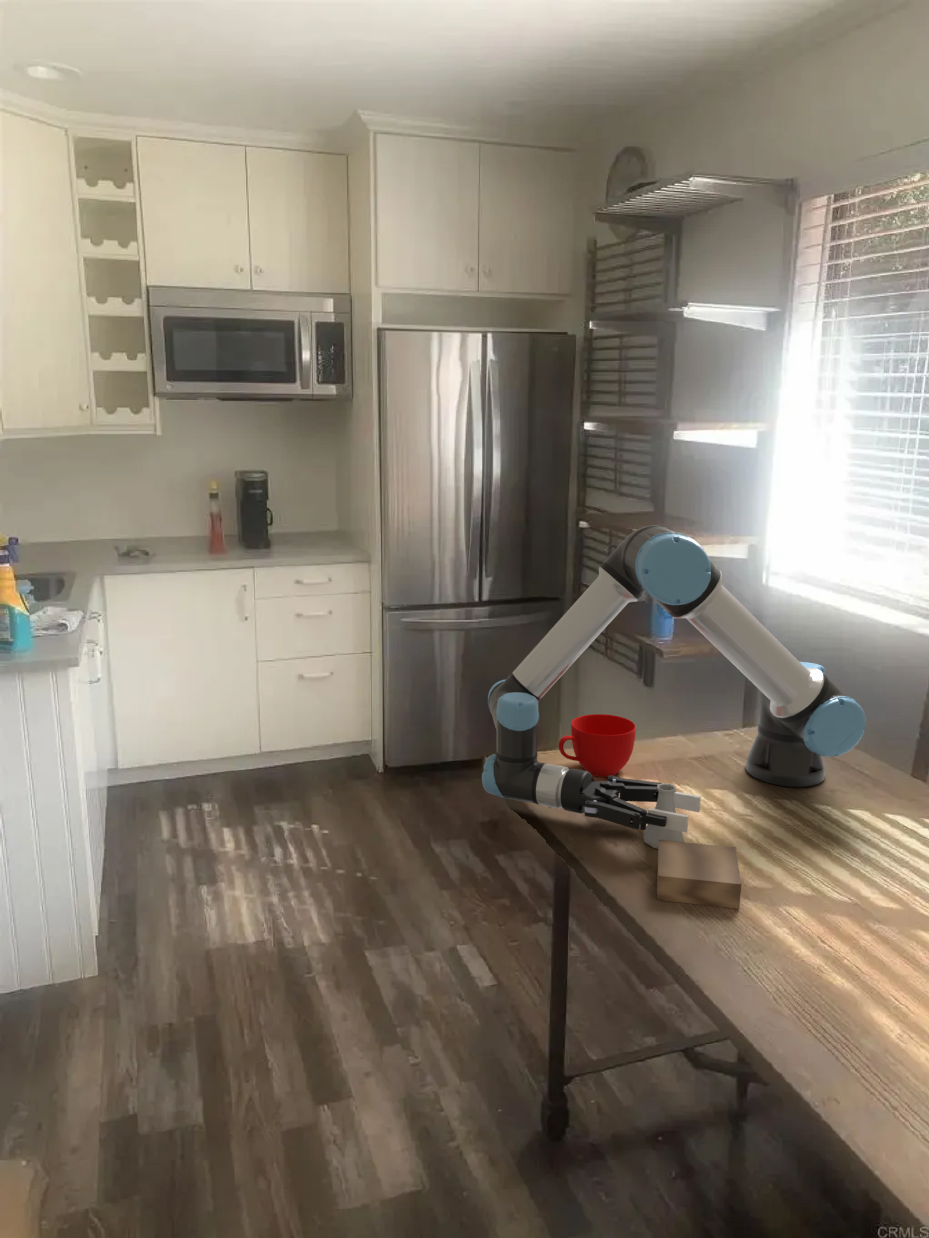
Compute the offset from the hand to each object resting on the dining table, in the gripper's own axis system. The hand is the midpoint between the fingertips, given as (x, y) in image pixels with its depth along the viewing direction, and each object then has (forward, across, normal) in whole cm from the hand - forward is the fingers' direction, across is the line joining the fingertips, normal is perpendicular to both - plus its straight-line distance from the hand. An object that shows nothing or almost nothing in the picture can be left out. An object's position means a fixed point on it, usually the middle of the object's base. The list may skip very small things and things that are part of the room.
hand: (693, 813), depth 154 cm
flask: (-5, 0, -6) cm, 8 cm away
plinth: (+4, +12, -6) cm, 14 cm away
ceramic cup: (-26, -23, -6) cm, 35 cm away
